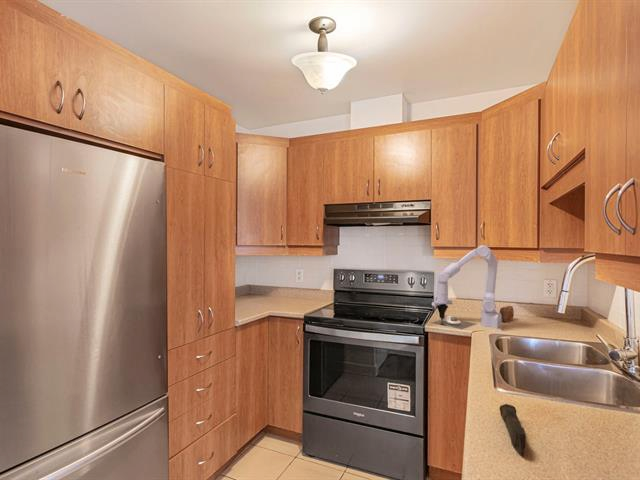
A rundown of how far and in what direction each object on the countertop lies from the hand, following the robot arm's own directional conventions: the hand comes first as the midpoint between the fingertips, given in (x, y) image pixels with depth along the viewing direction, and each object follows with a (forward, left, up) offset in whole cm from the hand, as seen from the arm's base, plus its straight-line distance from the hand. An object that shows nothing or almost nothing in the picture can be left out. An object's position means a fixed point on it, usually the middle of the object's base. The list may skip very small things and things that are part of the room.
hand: (441, 317), depth 206 cm
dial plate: (-7, -1, -3) cm, 8 cm away
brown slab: (-22, -36, -3) cm, 42 cm away
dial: (-5, -1, -2) cm, 5 cm away
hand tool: (-70, +96, -4) cm, 118 cm away
